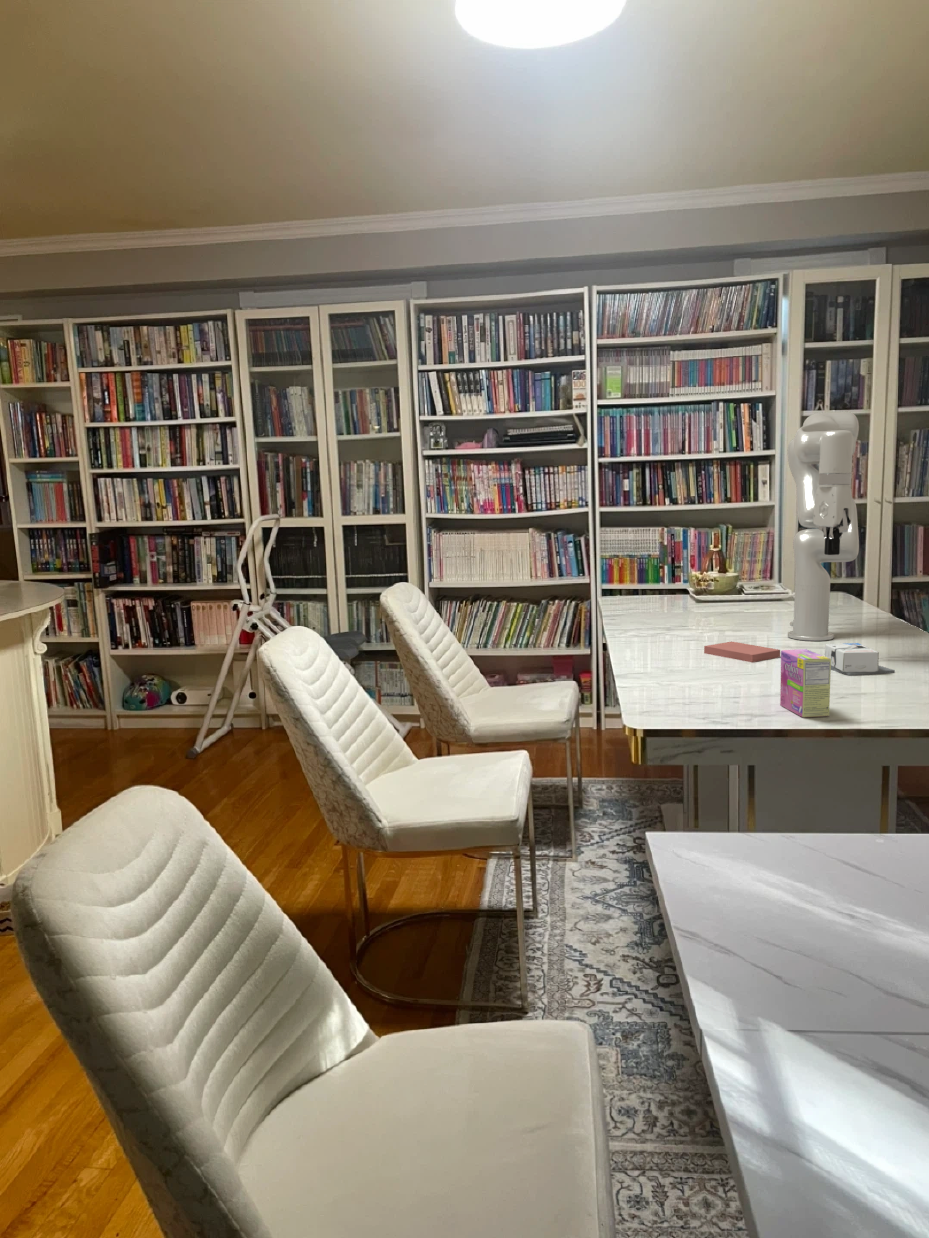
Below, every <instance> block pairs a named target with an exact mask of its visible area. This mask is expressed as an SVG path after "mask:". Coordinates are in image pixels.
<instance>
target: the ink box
mask: <svg viewBox="0 0 929 1238" xmlns="http://www.w3.org/2000/svg"><path fill="white" fill-rule="evenodd" d="M824 656H825V657H828V658H831V666H833V667H835V668H837V669H839V670H841V671H843V672H876V671H878V665H879V666H880V664H879V663H880V661H879V657H880V652H879V651H877V650H874V649H873V648H870V647H868V646H865V645H863V644H861V643H859V642H853V643H852V642H851V643H849V642H848V643H846V642H845V643H825V645H824Z"/></svg>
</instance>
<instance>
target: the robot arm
mask: <svg viewBox="0 0 929 1238" xmlns="http://www.w3.org/2000/svg"><path fill="white" fill-rule="evenodd" d="M859 423H860V422H859V420H858V417H857V416H856V415H855V414H854V413H853V412H852V411H834V412H833V411H832V412H830V411H829V412H828V411H827V412H826V411H825V412H817V413H813V414H810V415H809V416H808V417H807V418H806V419H804V422H803V424H802V426H801V427H799V428H798V429H797V431H796V432H795V435H794V438H792V439H791V440H790V441H789V442H788V445H787V455H786V456H787V462H788V466H789V467H788V468H789V471H790V473H791V475H792V478H793V480H794V483H795V488H796V510H797V511H796V514H797V519H798V523H799V524H800V526H801V527H803V528H805V529H802V530H799V531H798V532H796V534H795V535H794V537H793V542H792V549H793V555H794V556H793V557H794V567H795V568H794V571H795V575H794V576H795V577H794V578H795V579H794V609H793V619H792V621H790V623H789V626H790V627H792V630H790V631H788V632H787V637H788V638H790V639H794V640H800V641H815V642H817V641H819V642H820V641H821V642H822V641H831V640H833V639H834V637H835V634H834V633H832V632H830V631H829V623H830V621H829V617H830V601H831V599H830V597H831V595H830V594H831V592H830V591H831V576H830V574H829V572H828V571H827V569H825V568H824V567H823V565H822V563H848V562H849V563H850V562H853V561H854V560H855V559H857V557H858V555H859V552H860V541H859V539H860V538H859V527H858V526H859V524H858V523H859V521H858V509H857V504H856V501H855V500H854V498H853V494H852V475H853V474H852V471H853V467H852V466H853V455H854V454H855V452H856V447H857V440H858V437H859V429H860V426H859V425H860V424H859ZM813 465H818V469H817V468H816V467H814V466H813ZM806 528H807V529H806Z"/></svg>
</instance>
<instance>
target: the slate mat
mask: <svg viewBox="0 0 929 1238" xmlns="http://www.w3.org/2000/svg"><path fill="white" fill-rule="evenodd" d="M831 671H834V672H838V673H840V674H843V675H845V676H849V677H852V676H862V675H863V676H864V675H868V676H869V675H879V674H880V675H881V674H895V673H896V672H895V669H892V668H889V667H886V666H882V665H880V664H879V665H878V671H876V672H843V671H841V670H839V669H837V668H835V667H833V666H831Z"/></svg>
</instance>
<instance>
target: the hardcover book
mask: <svg viewBox="0 0 929 1238" xmlns="http://www.w3.org/2000/svg"><path fill="white" fill-rule="evenodd" d="M703 648H704V649H703V650H704V651H703V654H706V655H711V656H716V657H723V658H727V659H732V660H737V661H743V662H748V663H757V662H762V661H768V660H772V659H778V658H781V649H778V648H771V647H765V646H761V645H755V644H748V643H744V642H737V641H727V642H721V643H715V644H708V645H704V647H703Z"/></svg>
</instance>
